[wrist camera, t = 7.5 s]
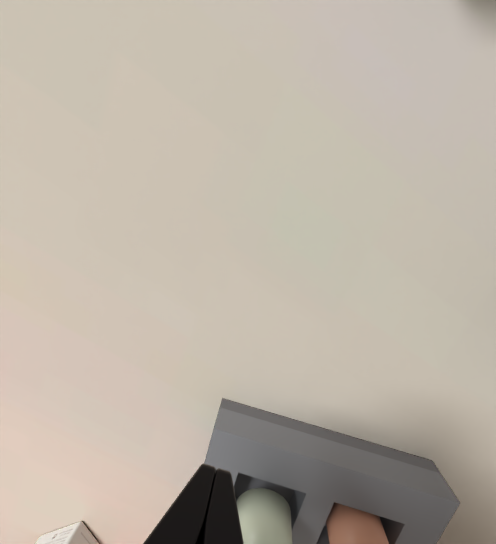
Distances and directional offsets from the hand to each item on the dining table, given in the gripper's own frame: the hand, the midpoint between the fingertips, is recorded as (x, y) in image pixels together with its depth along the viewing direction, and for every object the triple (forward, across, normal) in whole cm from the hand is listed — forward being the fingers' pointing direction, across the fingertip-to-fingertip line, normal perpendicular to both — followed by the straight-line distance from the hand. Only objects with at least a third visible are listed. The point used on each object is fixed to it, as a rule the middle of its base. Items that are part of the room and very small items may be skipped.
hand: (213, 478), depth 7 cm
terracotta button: (+11, -11, +13) cm, 20 cm away
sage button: (+9, -4, +13) cm, 16 cm away
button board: (+12, -8, +17) cm, 22 cm away
